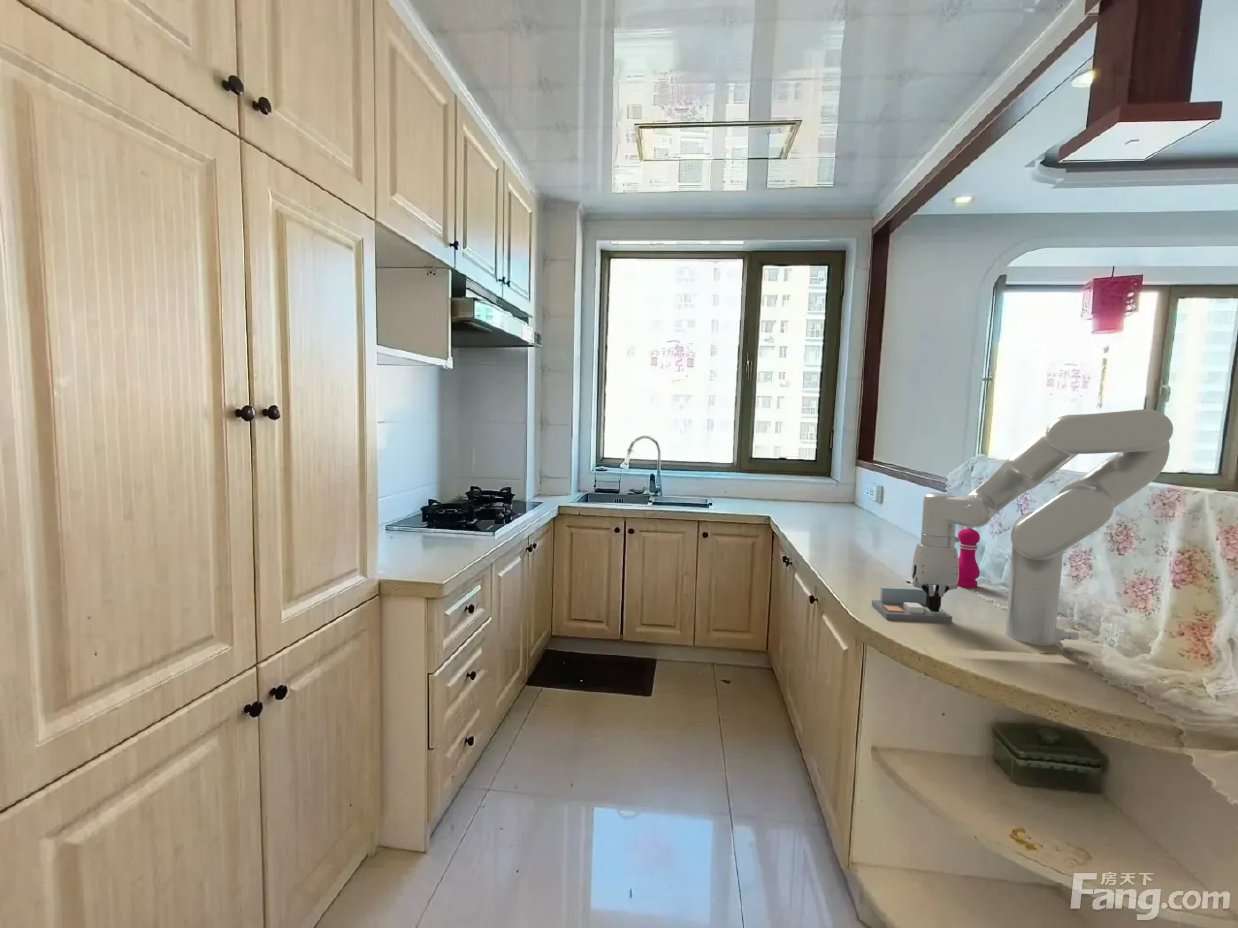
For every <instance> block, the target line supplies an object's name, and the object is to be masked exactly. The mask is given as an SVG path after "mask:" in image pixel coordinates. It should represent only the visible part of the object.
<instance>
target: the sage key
mask: <svg viewBox="0 0 1238 928" xmlns="http://www.w3.org/2000/svg"><path fill="white" fill-rule="evenodd" d="M924 611H926V612H927V613H928V614H942V615H944V612H942V611H941V610H940V609H939V612H936V611H934V612H932V611H931V610H929V609H928V608H927V607H924Z"/></svg>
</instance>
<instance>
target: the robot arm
mask: <svg viewBox="0 0 1238 928" xmlns="http://www.w3.org/2000/svg"><path fill="white" fill-rule="evenodd" d="M1173 425H1174V424H1173V423H1172V420H1171V419H1170V418H1169V417H1168V416H1167V415H1166V414H1164V413H1162V412H1160V411H1158V410H1155V409H1148V408H1147V409H1145V408H1144V409H1133V410H1132V409H1131V410H1122V411H1111V412H1110V411H1109V412H1101V413H1100V412H1099V413H1085V414H1083V413H1082V414H1081V413H1080V414H1066V415H1062V416H1060V417H1058V418H1055V419H1054V420H1053V421H1052V422H1050V423H1049V424H1048V425H1047V426H1045V427H1044V428H1043V429H1042V430H1040V432H1038V433H1037V434H1036V435H1035V436H1033V437H1032V438H1031V439H1030V440H1029V441H1028V442H1027V443H1025V444H1024V445H1023V446H1021V448H1019V449H1018V450H1017V451H1016V452H1014V453H1013V454H1012V455H1011V456H1010V457H1008V458H1007V459H1006V460H1005V461H1004V462H1003V463H1002V464H1001V466H1000V467H999V468H998V469H997V470H996V471H995V472H994V473H993V474H991V476H989V477H988V478H987V479H986V480H985V481H983V483H981V484H980V485H979V486H978V487H976V488H975V489H974V490H973V491H972V492H970V493H969V494H968V495H966V496H965V497H957V496H955V495H953V494H950V493H943V492H930V493H927V494H925V495H924V496H923V501H922V502H923V503H922V518H921V519H922V520H921V533H920V543H917V544H916V546H915V548H914V549H915V550H914V553H913V557H912V558H913V559H912V564H911V572H910V573H911V575H910V576H911V578H912V579H913V580H912V583H911V584H912V586H913V588H920V589H923V590H924V591H925V593H926V594H927V595H926V606H927V608H928V609H929V610H931V611H932V612H934V611H936V612H939V608H942V607H941V606H942V598H943V597H944V595H945V594H946V593H947V592H948V591H952V590H957V589H958V586H957V583H958V579H959V561H958V559H959V555H958V549H957V547H956V544H957V543H961V542H960V538H959V537H958V536H957V535H956V529H957V528H956V526H957V525H959V526H964V527H966V526H967V527H973V528H976V529H977V528H981V527H984V526H986V525H987V524H988V523H990V521H991V520H992V518H993V517H995V515H996V514H998V513H999V512H1000V511H1001V510H1003V509H1004V508H1005V507H1006V506H1008V505H1009V504H1010V503H1012V502H1013V501H1014V500H1015V499H1017V498H1018V497H1020V496H1022V495H1023V494H1024V493H1026V492H1028V491H1030V490H1032V489H1035V488H1036V487H1038V486H1039V485H1040V484H1042V483H1043V482H1044V481H1046V480H1047V479H1049V478H1050V477H1051V476H1052V475H1053V474H1055V473H1056V472H1057V471H1058V470H1060V469H1061V468H1062V467H1064V466H1065V465H1066V464H1068V463H1069V462H1070V461H1072V460H1073V459H1074V458H1075V457H1076V456H1078V455H1088V454H1089V455H1090V454H1091V455H1094V454H1095V455H1096V454H1110V453H1111V455H1110V456H1109V457H1107V458H1106V459H1104V460H1103V461H1102V462H1101V463H1099V464H1098V465H1096V466H1095V467H1094V468H1092V469H1091V470H1090V471H1088V472H1087V473H1085V474H1084V475H1083V476H1081V477H1079V478H1078V479H1077V480H1075V481H1073V482H1072V483H1070V484H1068V485H1066V486H1064V487H1063V488H1061V490H1060V491H1058V494H1057V495H1056V496H1055V497H1053V498H1052V499H1050V500H1049V501H1048V502H1046V503H1045V504H1043V505H1042V506H1040V507H1039V508H1038V509H1036V510H1034V511H1029V512H1026V513H1024V514H1022V515H1020V516H1019V517H1018V518H1017V519H1016V520H1015V522H1014V524H1013V525H1012V528H1011V533H1010V541H1011V544H1012V545H1011V554H1010V555H1011V556H1010V567H1009V578H1008V579H1009V582H1008V590H1007V591H1008V593H1007V608H1006V620H1005V633H1004V634H1005V635H1006V636H1007V637H1008V638H1011V639H1013V640H1015V641H1017V642H1020V643H1023V644H1024V643H1025V644H1029V645H1034V646H1041V647H1042V646H1044V647H1047V646H1048V647H1050V646H1056V647H1057V648H1059V649H1060V650H1062V651H1063V650H1064V644H1063V643H1062V642H1061V641H1064V640H1070V641H1071V640H1072V641H1078V640H1079V639H1080V636H1079V633H1078V632H1077V631H1073V630H1072V631H1071V630H1066V631H1065V629H1064V628H1060V627H1057V625H1058V612H1059V601H1060V600H1059V599H1060V590H1061V589H1060V588H1061V582H1062V581H1061V579H1062V569H1063V567H1062V566H1063V556H1064V554H1063V552H1065V551H1066V550H1067V549H1070V548H1071V547H1072V546H1075V545H1076V544H1078V543H1079V542H1080V541H1082V540H1084V539H1085V538H1088V536H1089V535H1091V534H1093V533H1094V532H1096V531H1097V530H1099V529H1101V528H1102V527H1103V526H1104V525H1105V524H1107V522H1108V521H1109V520H1110V519H1111V518H1112V516H1113V513H1114V510H1115V508H1116V507H1118V506H1119V505H1121V504H1122V503H1123V502H1125V501H1126V500H1128V499H1129V498H1131V497H1132V496H1134V495H1135V494H1137V493H1138V492H1139V491H1141V490H1142V489H1143V488H1145V487H1146V486H1148V485H1149V484H1150V483H1151V482H1152V481H1154V480H1155V479H1156V478H1157V477H1158V476H1159V475H1160V474H1161V473H1162V471H1163V470H1164V468H1165V466H1166V464H1167V462H1168V459H1169V455H1170V451H1171V450H1170V449H1171V447H1170V446H1171V445H1170V444H1171V443H1170V439H1171V438H1172V437H1173V434H1174V426H1173ZM973 528H972V529H973ZM1044 654H1046V655H1047V654H1048V655H1049V654H1051V655H1053V653H1050V652H1049V653H1048V652H1044Z"/></svg>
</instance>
